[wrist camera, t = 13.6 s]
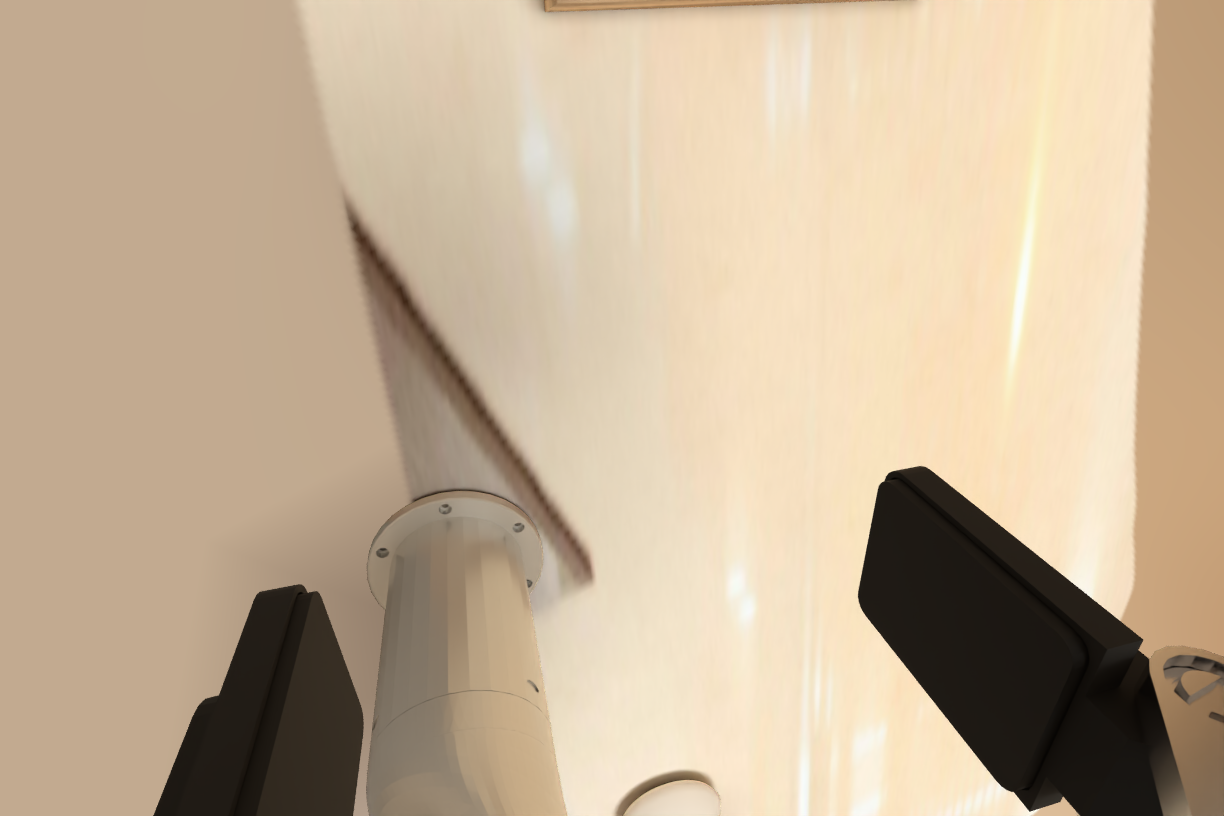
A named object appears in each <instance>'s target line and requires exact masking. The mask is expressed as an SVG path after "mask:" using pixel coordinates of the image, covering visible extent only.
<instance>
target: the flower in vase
mask: <svg viewBox="0 0 1224 816" xmlns="http://www.w3.org/2000/svg"><path fill="white" fill-rule="evenodd" d="M720 813H721V802H720V797H719V794H718V793H717V792H716V791H715V790H714V789H713V788H712V787H710V786H709V785H707V784H706V783H703V782H700V781H695V780H680V781H674V782H670V783H667V784H664V785H661V786H658V787H656V788H654V789H652V790H650V791H648V792H646V793H645V794H643V795H642V796H640V797H639V798H638V799H636V800H635V801H634V802H633V803H632V804H631V805H630V806H629V808H628V809H627V810H626V812H625V814H624V816H720Z"/></svg>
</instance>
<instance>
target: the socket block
mask: <svg viewBox="0 0 1224 816" xmlns="http://www.w3.org/2000/svg"><path fill="white" fill-rule="evenodd" d="M860 1H890V0H544V5H545V12H557V11H587V10H618V9H648V8H678V7H708V6H739V5H769V4H799V3H830V2H860Z"/></svg>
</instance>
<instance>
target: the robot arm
mask: <svg viewBox="0 0 1224 816" xmlns="http://www.w3.org/2000/svg"><path fill="white" fill-rule="evenodd" d="M542 566H543V550H542V545H541V540H540V537H539V534H538V532H537V529H536V527H535V526H534V524H533V523H532V521H531V520H530V518H529V517H528V516H527V515H526V514H525V513H524V512H523V511H521V510H520V509H519V508H518V507H516V506H515V505H513V504H511V503H510V502H508V501H506V500H504V499H502V498H499V497H496V496H493V495H491V494H485V493H480V492H474V491H453V492H445V493H438V494H435V495H431V496H428V497H425V498H421V499H419V500H417V501H415V502H413V503H411V504H409V505H407V506H405V507H404V508H402V509H401V510H400V511H398V512H397V513H395V514H394V515H393V516H391V518H390V519H389V520H388V521H387V522H386V523H385V524H384V525H383V526H382V527H381V528H380V530H379V532H378V533H377V535H376V536H375V538H374V540H373V542H372V545H371V548H370V551H369V556H368V563H367V579H368V583H369V586H370V589H371V592H372V594H373V595H374V597H375V599H376V600H377V602H378V603H379V604H380V605H381V606H382V607H383V608H384V609H385V618H384V628H383V637H382V646H381V655H380V664H379V673H378V682H377V692H376V701H375V709H374V719H373V728H372V737H371V746H370V754H369V763H368V772H367V786H366V791H367V792H366V794H367V805H368V812H369V816H568V815H567V811H566V807H565V802H564V798H563V793H562V788H561V783H560V777H559V772H558V767H557V761H556V755H555V749H554V743H553V737H552V732H551V725H550V718H549V712H548V706H547V700H546V694H545V688H544V682H543V676H542V670H541V664H540V658H539V652H538V646H537V640H536V634H535V628H534V622H533V616H532V610H531V604H530V598H529V595H530V593H531V592H532V591H533V589H534V588H535V586H536V584H537V582H538V580H539V578H540V575H541V570H542ZM858 599H859V603H860V607H861V609H862V611H863V612H864V614H865V615H866V617H867V618H868V619H869V620H870V622H871V623H872V624H873V626H874V627H875V628H876V629H877V631H878V632H879V633H880V634H881V636H882V637H883V638H884V639H885V641H886V642H887V643H888V645H889V646H890V647H891V648H892V650H893V651H894V652H895V653H896V655H897V656H898V657H899V658H900V660H901V661H902V662H903V663H904V665H905V666H906V667H907V669H908V670H909V671H910V672H911V674H912V675H913V676H914V677H915V679H916V680H917V681H918V682H919V684H920V685H921V686H922V688H923V689H924V690H925V691H926V693H927V694H928V695H929V696H930V698H931V699H932V700H933V701H934V703H935V704H936V705H937V706H938V708H939V709H940V710H941V712H942V713H943V714H944V715H945V717H946V718H947V719H948V720H949V722H950V723H951V724H952V725H953V727H954V728H955V729H956V731H957V732H958V733H959V734H960V736H961V737H962V738H963V739H964V741H965V742H966V743H967V744H968V746H969V747H970V748H971V749H972V751H973V752H974V753H975V755H976V756H977V757H978V758H979V760H980V761H981V762H982V763H983V765H984V766H985V767H986V768H987V770H988V771H989V772H990V774H991V775H992V776H993V777H994V779H995V780H996V781H997V782H998V783H999V784H1000V785H1001V786H1002V787H1003V788H1005V789H1006V790H1008V791H1011V792H1014V793H1015V794H1016V795H1017V797H1018V798H1019V799H1020V800H1021V802H1022V803H1023V804H1024V805H1025V807H1026V808H1027V809H1028V810H1029V812H1030V811H1033V810H1036V809H1040V808H1043V807H1046V806H1049V805H1052V804H1055V803H1058V802H1060V801H1061V799H1062V797H1064V798H1065V799H1066V800H1067V801H1068V802H1069V803H1070V805H1071V806H1072V807H1073V808H1074V809H1075V810H1076V813H1077V816H1224V657H1223V656H1220V655H1217V654H1215V653H1212V652H1209V651H1206V650H1202V649H1197V648H1191V647H1186V646H1168V647H1164V648H1162V649H1159V650H1157V651H1155V652H1154V653H1153V655H1152V656H1151V658H1150V659H1148V658H1147V657H1146V656H1145V655H1144V654H1142V653H1141V652H1140V651H1139V650H1138V649H1139V647H1140V645H1141V644H1142V642H1143V639H1142V638H1141V637H1139V636H1138V635H1137V634H1136V633H1134V632H1133V631H1132V630H1131V629H1129V628H1128V627H1127V626H1126V625H1124V624H1123V623H1122V622H1121V621H1119V620H1118V619H1117V618H1116V617H1114V616H1113V615H1112V614H1111V613H1109V612H1108V611H1107V610H1106V609H1104V608H1103V607H1102V606H1101V605H1099V604H1098V603H1097V602H1095V601H1094V600H1093V599H1092V598H1090V597H1089V596H1088V595H1087V594H1085V593H1084V592H1083V591H1082V590H1080V589H1079V588H1078V587H1077V586H1075V585H1074V584H1073V583H1072V582H1070V581H1069V580H1068V579H1067V578H1065V577H1064V576H1063V575H1062V574H1060V573H1059V572H1058V571H1057V570H1055V569H1054V568H1053V567H1052V566H1050V565H1049V564H1048V563H1047V562H1045V561H1044V560H1043V559H1042V558H1040V557H1039V556H1038V555H1037V554H1035V553H1034V552H1033V551H1032V550H1030V549H1029V548H1028V547H1026V546H1025V545H1024V544H1023V543H1021V542H1020V541H1019V540H1018V539H1016V538H1015V537H1014V536H1013V535H1011V534H1010V533H1009V532H1008V531H1006V530H1005V529H1004V528H1003V527H1001V526H1000V525H999V524H998V523H996V522H995V521H994V520H993V519H991V518H990V517H989V516H988V515H986V514H985V513H984V512H983V511H981V510H980V509H979V508H978V507H976V506H975V505H974V504H973V503H971V502H970V501H969V500H968V499H966V498H965V497H964V496H963V495H961V494H960V493H959V492H957V491H956V490H955V489H954V488H952V487H951V486H950V485H949V484H947V483H946V482H945V481H944V480H942V479H941V478H940V477H939V476H937V475H936V474H935V473H934V472H932V471H931V470H930V469H928V468H926V467H923V466H918V467H913V468H908V469H902V470H897V471H893V472H890V473H889V474H888V475H887V476H886V479H885V481H884V482H882V483H881V484H880V485H879V488H878V492H877V497H876V503H875V508H874V513H873V518H872V523H871V529H870V534H869V539H868V544H867V549H866V555H865V560H864V565H863V570H862V575H861V581H860V586H859V591H858ZM362 739H363V713H362V708H361V705H360V702H359V699H358V697H357V694H356V691H355V689H354V686H353V683H352V680H351V677H350V675H349V672H348V669H347V666H346V664H345V661H344V659H343V655H342V653H341V650H340V647H339V645H338V642H337V639H336V636H335V633H334V631H333V628H332V625H331V622H330V620H329V617H328V614H327V612H326V609H325V606H324V603H323V601H322V598H321V596H320V594H319V593H318V592H317V591H315V592H309V593H307V591H306V589H305V587H304V586H303V585H293V586H288V587H283V588H278V589H272V590H267V591H262V592H259V593H258V594H257V595H256V597H255V599H254V601H253V604H252V607H251V610H250V612H249V615H248V618H247V621H246V623H245V626H244V629H243V632H242V634H241V637H240V640H239V643H238V645H237V648H236V651H235V653H234V656H233V659H232V661H231V664H230V667H229V670H228V672H227V675H226V678H225V681H224V683H223V686H222V689H221V691H220V694H219V696H214V697H211V698H207V699H205V700H204V701H203V702H202V703H201V704H200V705H199V706H198V707H197V709H196V711H195V713H194V715H193V717H192V720H191V722H190V724H189V727H188V730H187V732H186V735H185V737H184V740H183V742H182V745H181V747H180V750H179V752H178V755H177V758H176V760H175V763H174V765H173V767H172V770H171V773H170V775H169V778H168V780H167V783H166V785H165V788H164V790H163V793H162V796H161V798H160V800H159V803H158V805H157V808H156V811H155V813H154V815H153V816H353V811H354V803H355V795H356V787H357V778H358V771H359V762H360V754H361V747H362Z"/></svg>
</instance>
